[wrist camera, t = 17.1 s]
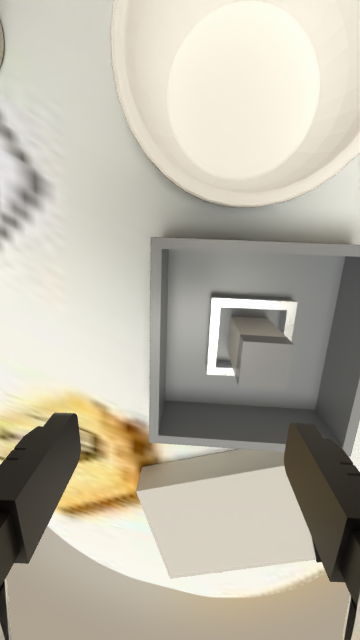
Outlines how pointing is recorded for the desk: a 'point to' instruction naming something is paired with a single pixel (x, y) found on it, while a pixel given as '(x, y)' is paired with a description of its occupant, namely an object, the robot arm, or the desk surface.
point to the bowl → (241, 92)
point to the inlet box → (258, 302)
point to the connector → (259, 353)
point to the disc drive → (224, 513)
